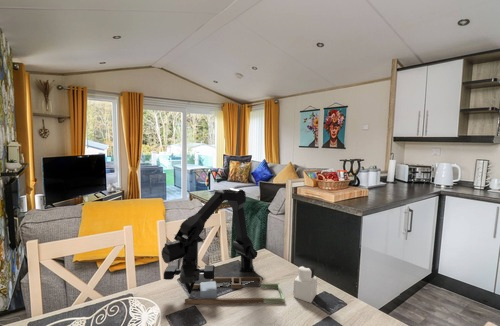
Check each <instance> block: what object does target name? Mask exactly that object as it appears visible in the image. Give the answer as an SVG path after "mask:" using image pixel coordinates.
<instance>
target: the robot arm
mask: <svg viewBox="0 0 500 326" xmlns="http://www.w3.org/2000/svg"><path fill="white" fill-rule="evenodd" d="M246 195H247V194H246V191H244V190H243V189H240V188H236V187H230V188H229V189H217V190H215V191H214V193H213V194H212V196H211V197H210V198H209V199H208V200H207V201H206V203H204V204H203V206H202V207H201V208H200V209H199V210H198V211H197V212H196V213H195V214H194V215H191V216H188V217H187V219H185V220H183V222H182V223H181V224H180V226H179V229H178V231H176V234H175V236H174V238H173V240H174V241H170V242H165V243H164V246H163V247H162V250H161V257H162V258H161V259H162V260H163V262H164V263H165V264H169V263H173V262H174V261H175V262H176V261H178V260H180V259H182V264H181V267H180V268H178V265H167V266H166V268H165V270H164V271H163V280H164V281H165V280H169V281H170V280H173V279H174V278H175V276H176V275H177V276H178V275H179V279H178V280H179V283H180V284H184V285H185V287H186V289H187V293H188V294H190V295H192V292H193V290H194V289H193V286H194V284H196V282H199V281H200V277H201V275H203V278H204V279H205V280H211V279H214V277H215V275H216V266H215V265H213V264H211V265H210V264H209V265H207V264H205V265H204V268H199V267H198V266H199V264H198V263H199V243H200V242H203V241H204V238H202V237H200V235H201V234H202V232H203V230H204V229H205V224H206V223H207V221H208V220H209V219H210V218H211V217H212V216H213V214H214V213H215V212H216V210H218V208H219V207H220V206H221V205H222V204H223V202H225V201H227V203H228V205H229V206H230V207H231V209H232V215H233V222H234V227H235V234H236V239H235V240H234V241H232V244H233V249H234V250H235V252H236V254H237V255H239V256H240V263H239V272H254V271H255V268H254V263H253V262H254V260H255V259H256V258H257V257H258V252H257V250H256V249H255V248H254V243H253V241H252V240H251V238H250V236H249V235H248V229H247V222H246V217H245V210H244V207H245V205H246V202H247V201H246V200H247V196H246ZM190 284H191V285H190Z"/></svg>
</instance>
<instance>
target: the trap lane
mask: <svg viewBox="0 0 500 326" xmlns="http://www.w3.org/2000/svg"><path fill="white" fill-rule="evenodd" d="M209 280H210V281H209V282H213V281H216V288H221V287H220V286H222V285H223V282H225V283H224V284H227V283H226V282H228V285H226V286H227V287H226V288H229V287H228V286H229V285H231V289H242V288H260V289H277V290H278V294H279V297H233V298H232V297H227V298H224V297H221V298H219V297H217V298H210V299H200V298H185V299H184V305H219V304H220V305H223V304H224V305H225V304H227V305H228V304H229V305H231V304H234V305H236V304H239V305H240V304H283V303H285V297H284V292H283V290H282V287H281V284H280V282H273V283H272V282H269V283H267V282H265V283H263V278H262V276H230V277H229V276H228V277H227V276H223V277H222V276H218V277H217V276H216V277H215V276H214V279H209ZM229 281H232V282H229ZM234 281H239V282H238V283H235V282H234ZM241 281H254V282H250V283H248V284H245V285H242V284H241ZM230 283H231V284H230ZM190 285H191V283H190ZM198 288H199V289H198ZM196 289H197V290H200V283H195V284H194V286H193V289H192V290H196Z"/></svg>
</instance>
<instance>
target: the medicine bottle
mask: <svg viewBox="0 0 500 326" xmlns="http://www.w3.org/2000/svg"><path fill="white" fill-rule="evenodd" d="M293 282H294V283H293V298H296V299H298V300H301V301H304V302H307V303H310V304H312V302H313V301H314V299H315V297H316V295H317V293H318V292H317V291H318V290H317V288H318V277H316V276H315V268H314V267H313V265H310V264H308V263H303V264H299V266H298V275H297V276H296V277H295V279H294V281H293Z"/></svg>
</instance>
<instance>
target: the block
mask: <svg viewBox="0 0 500 326" xmlns="http://www.w3.org/2000/svg"><path fill="white" fill-rule="evenodd" d="M199 284H200V289H199V290H200V291H199V295H200V296H199V297H200V298H199V299H210V298H218V297H217V296H218V295H217V292H218V290H217V288H218V287H216V281H213V282H210V281H202V282H200V283H199Z"/></svg>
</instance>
